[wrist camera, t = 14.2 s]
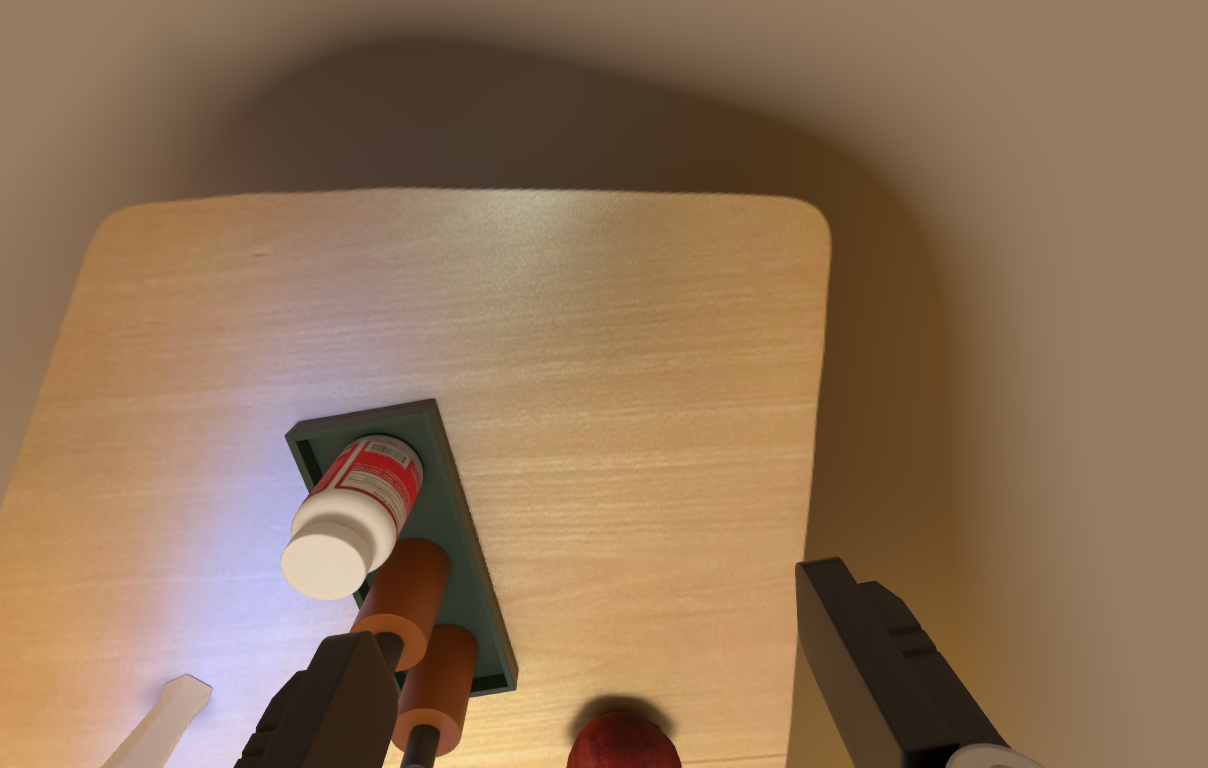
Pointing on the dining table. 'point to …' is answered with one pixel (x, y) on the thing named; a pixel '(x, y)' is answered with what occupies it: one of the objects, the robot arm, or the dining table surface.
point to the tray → (424, 525)
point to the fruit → (622, 744)
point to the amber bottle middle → (405, 601)
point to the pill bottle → (352, 517)
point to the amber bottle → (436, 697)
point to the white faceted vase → (162, 726)
